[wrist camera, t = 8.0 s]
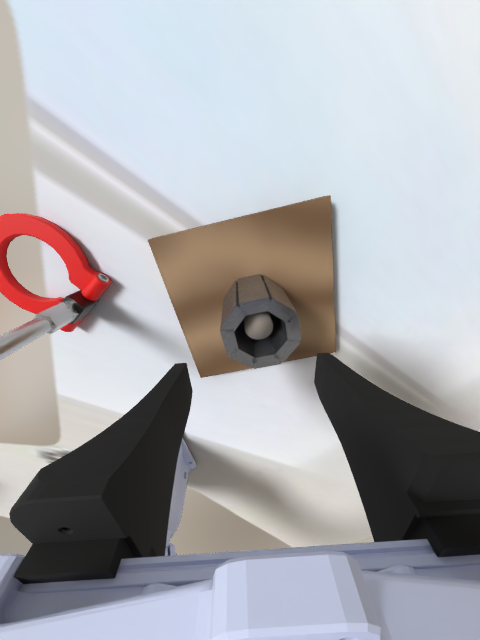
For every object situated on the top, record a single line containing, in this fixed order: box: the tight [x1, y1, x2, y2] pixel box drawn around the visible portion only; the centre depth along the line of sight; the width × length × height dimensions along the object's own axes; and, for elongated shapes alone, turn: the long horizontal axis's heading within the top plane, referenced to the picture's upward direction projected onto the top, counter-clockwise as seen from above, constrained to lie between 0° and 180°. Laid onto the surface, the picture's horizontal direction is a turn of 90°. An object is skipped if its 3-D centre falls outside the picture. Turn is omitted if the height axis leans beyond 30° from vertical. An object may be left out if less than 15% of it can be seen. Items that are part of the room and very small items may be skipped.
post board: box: [148, 196, 336, 378], centre depth 18 cm, size 14×14×6 cm
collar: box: [220, 274, 301, 369], centre depth 17 cm, size 5×5×6 cm
